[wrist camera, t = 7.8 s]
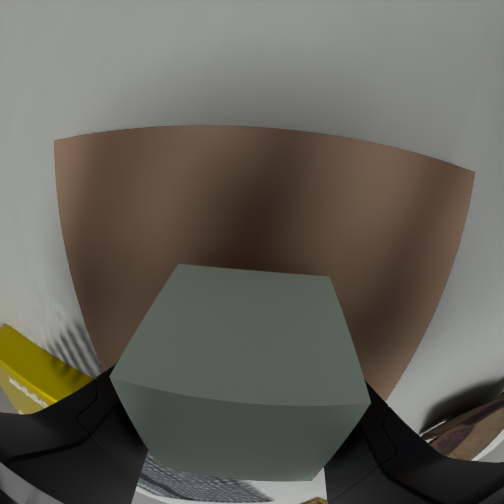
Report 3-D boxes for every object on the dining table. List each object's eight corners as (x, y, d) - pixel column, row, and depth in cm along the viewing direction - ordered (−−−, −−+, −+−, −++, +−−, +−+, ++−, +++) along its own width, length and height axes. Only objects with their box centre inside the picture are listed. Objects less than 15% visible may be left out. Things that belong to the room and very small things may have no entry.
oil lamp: (295, 455, 20) (295, 522, 13) (552, 302, 12) (591, 347, 5) (358, 487, 27) (362, 525, 20) (522, 396, 19) (540, 429, 12)
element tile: (126, 389, 18) (105, 436, 13) (129, 447, 24) (118, 477, 19) (1, 314, 17) (-27, 342, 12) (32, 393, 23) (17, 417, 18)
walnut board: (455, 166, 9) (475, 172, 8) (380, 383, 15) (386, 400, 14) (74, 137, 10) (54, 140, 9) (114, 360, 16) (105, 375, 14)
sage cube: (329, 276, 9) (371, 402, 4) (303, 376, 11) (311, 480, 6) (178, 263, 9) (109, 376, 4) (188, 365, 11) (158, 465, 6)
